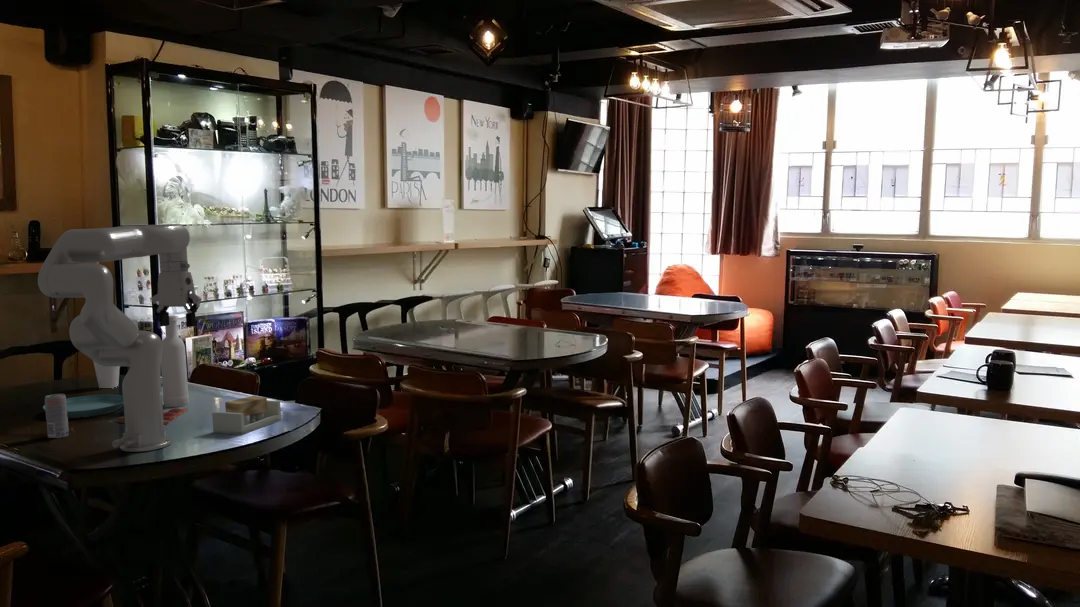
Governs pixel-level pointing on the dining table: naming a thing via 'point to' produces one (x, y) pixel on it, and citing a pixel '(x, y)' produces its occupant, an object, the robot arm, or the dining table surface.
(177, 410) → the billiard ball rack
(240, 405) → the oak plank
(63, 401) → the energy drink
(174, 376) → the bottle
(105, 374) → the foam cup
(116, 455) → the dining table surface
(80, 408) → the saucer
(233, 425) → the peg frame
